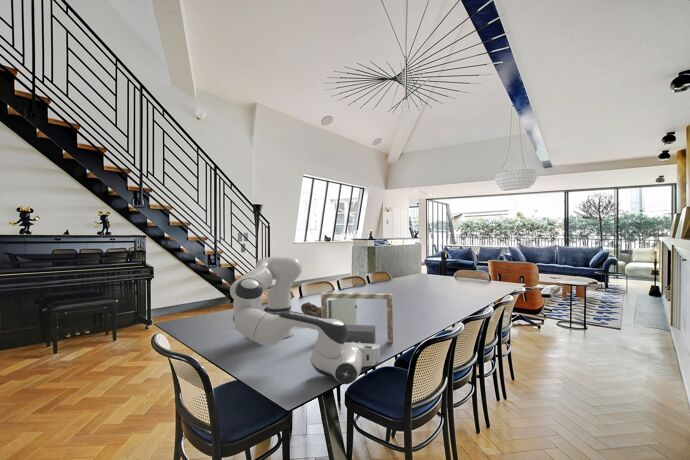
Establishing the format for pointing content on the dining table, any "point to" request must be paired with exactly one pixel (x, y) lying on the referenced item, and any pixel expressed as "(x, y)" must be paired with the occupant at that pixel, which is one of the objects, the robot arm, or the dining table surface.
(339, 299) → the door
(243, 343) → the dining table surface
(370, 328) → the block
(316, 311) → the decorative stone
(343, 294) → the door frame
